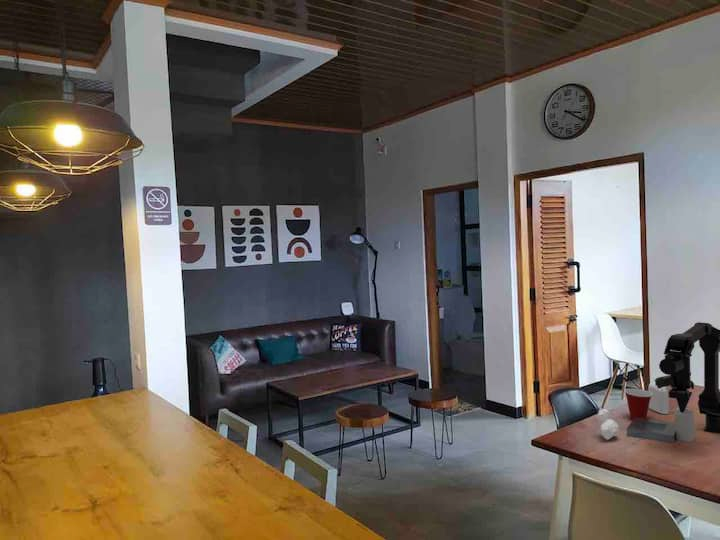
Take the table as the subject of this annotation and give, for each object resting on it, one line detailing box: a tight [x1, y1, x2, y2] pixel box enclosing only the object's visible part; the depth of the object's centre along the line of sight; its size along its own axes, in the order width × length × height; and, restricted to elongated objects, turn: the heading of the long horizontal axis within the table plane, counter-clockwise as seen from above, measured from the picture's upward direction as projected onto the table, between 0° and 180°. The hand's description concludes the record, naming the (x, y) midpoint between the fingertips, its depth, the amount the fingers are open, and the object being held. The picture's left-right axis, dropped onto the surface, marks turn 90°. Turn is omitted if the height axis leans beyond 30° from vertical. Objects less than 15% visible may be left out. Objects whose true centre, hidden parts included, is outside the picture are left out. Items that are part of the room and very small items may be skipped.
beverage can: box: [674, 407, 696, 443], centre depth 206 cm, size 6×6×12 cm
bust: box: [596, 408, 620, 440], centre depth 211 cm, size 12×8×11 cm, turn 145°
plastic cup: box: [624, 388, 653, 421], centre depth 232 cm, size 11×11×12 cm
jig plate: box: [626, 417, 676, 444], centre depth 214 cm, size 16×16×3 cm
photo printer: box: [647, 382, 670, 415], centre depth 241 cm, size 10×4×12 cm, turn 4°
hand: (682, 412), depth 199 cm, fingers closed
